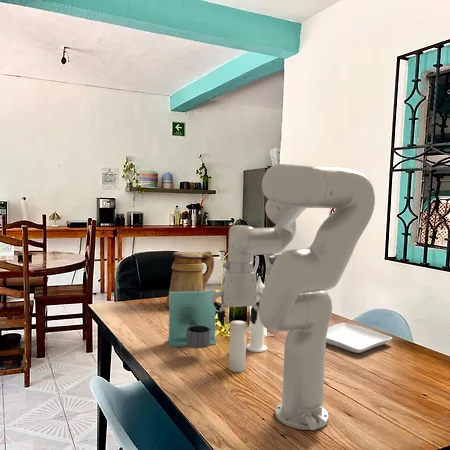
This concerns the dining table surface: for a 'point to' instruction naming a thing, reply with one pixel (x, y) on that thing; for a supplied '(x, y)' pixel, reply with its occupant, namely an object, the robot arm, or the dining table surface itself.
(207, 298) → the cup bracket
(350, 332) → the salad plate
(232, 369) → the white cylinder
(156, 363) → the dining table surface
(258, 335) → the candle
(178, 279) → the tankard
